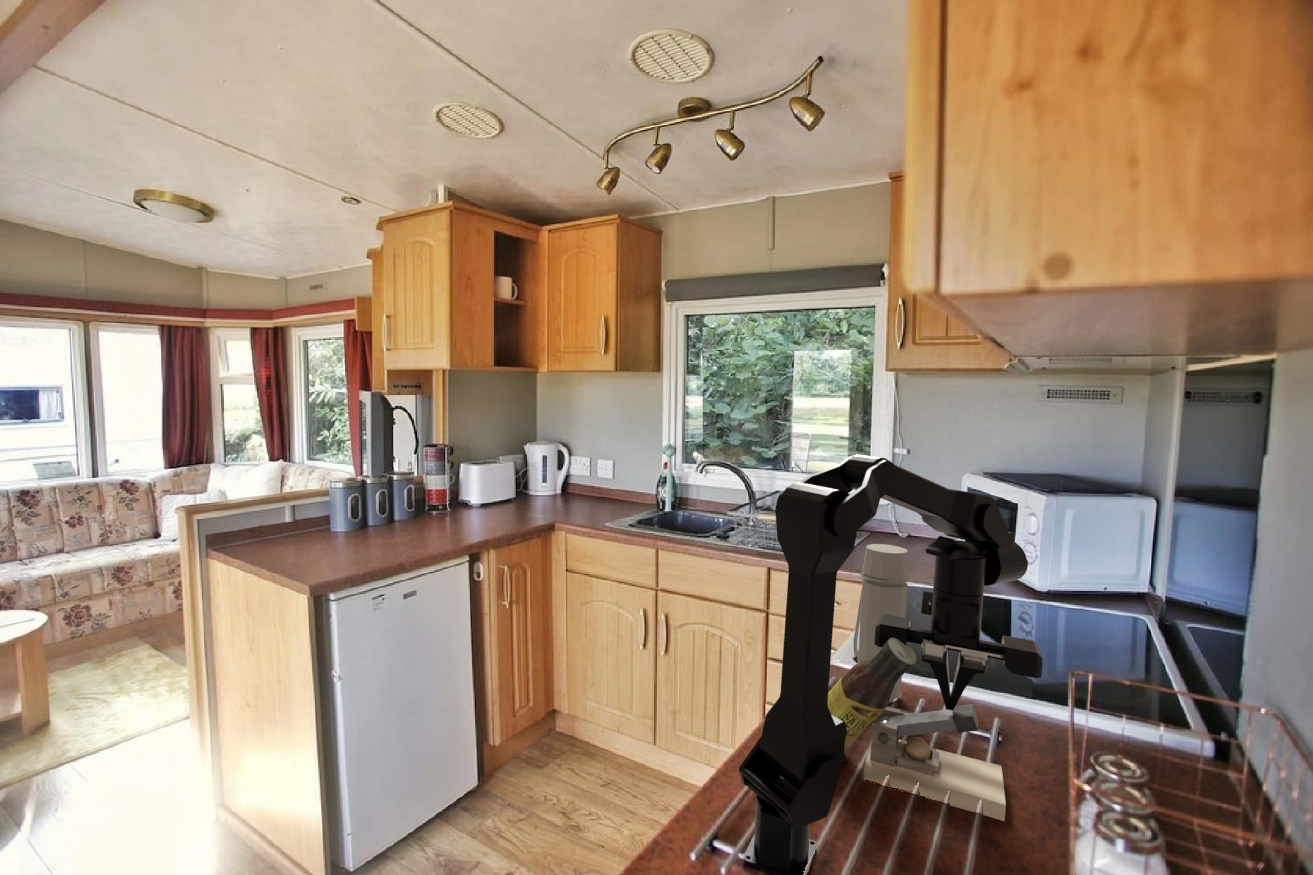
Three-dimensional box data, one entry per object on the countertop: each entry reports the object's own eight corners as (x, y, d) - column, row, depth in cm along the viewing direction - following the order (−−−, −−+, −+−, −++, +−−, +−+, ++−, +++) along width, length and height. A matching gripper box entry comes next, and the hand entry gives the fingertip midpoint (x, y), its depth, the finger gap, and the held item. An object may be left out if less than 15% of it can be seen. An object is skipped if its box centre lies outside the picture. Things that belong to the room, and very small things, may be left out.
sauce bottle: (812, 760, 83) (893, 672, 74) (794, 716, 88) (867, 628, 78) (850, 758, 86) (933, 673, 76) (830, 716, 91) (906, 630, 81)
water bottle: (911, 700, 103) (921, 551, 101) (878, 710, 99) (888, 556, 97) (868, 677, 111) (876, 539, 109) (836, 685, 107) (844, 543, 105)
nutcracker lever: (978, 730, 76) (972, 716, 77) (880, 740, 82) (875, 727, 82) (977, 717, 80) (972, 703, 80) (883, 728, 85) (878, 715, 85)
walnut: (928, 770, 79) (930, 747, 79) (903, 763, 81) (905, 741, 81) (929, 758, 82) (931, 736, 82) (905, 752, 83) (906, 730, 83)
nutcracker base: (1004, 821, 73) (1008, 763, 73) (863, 779, 80) (866, 727, 80) (1000, 780, 81) (1004, 728, 81) (872, 746, 88) (875, 698, 88)
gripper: (1036, 585, 82) (1027, 700, 83) (887, 564, 90) (880, 669, 91) (1047, 609, 72) (1036, 740, 73) (877, 583, 80) (870, 700, 81)
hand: (949, 708), depth 79 cm, fingers closed
